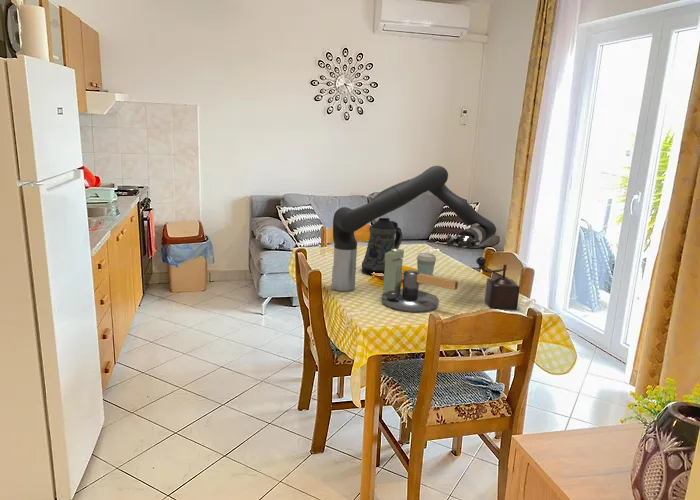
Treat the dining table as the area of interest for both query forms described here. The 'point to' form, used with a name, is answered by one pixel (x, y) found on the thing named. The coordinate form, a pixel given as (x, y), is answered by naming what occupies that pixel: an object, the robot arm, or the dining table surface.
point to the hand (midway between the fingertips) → (454, 244)
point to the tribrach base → (394, 292)
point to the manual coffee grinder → (500, 289)
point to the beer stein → (380, 245)
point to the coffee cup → (426, 263)
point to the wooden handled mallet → (416, 277)
